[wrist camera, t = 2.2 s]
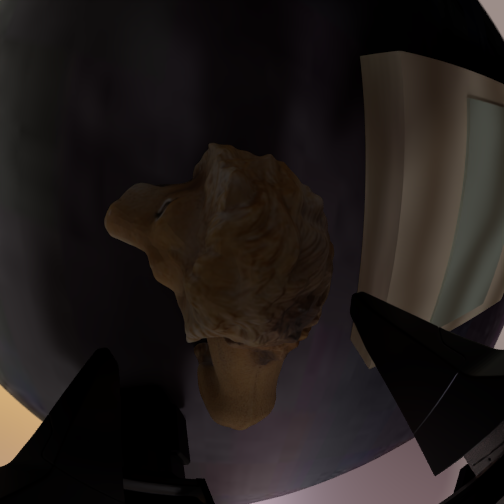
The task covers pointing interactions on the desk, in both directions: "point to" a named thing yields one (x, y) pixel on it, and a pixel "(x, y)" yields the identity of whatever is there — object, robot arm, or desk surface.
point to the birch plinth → (432, 189)
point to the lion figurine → (235, 269)
